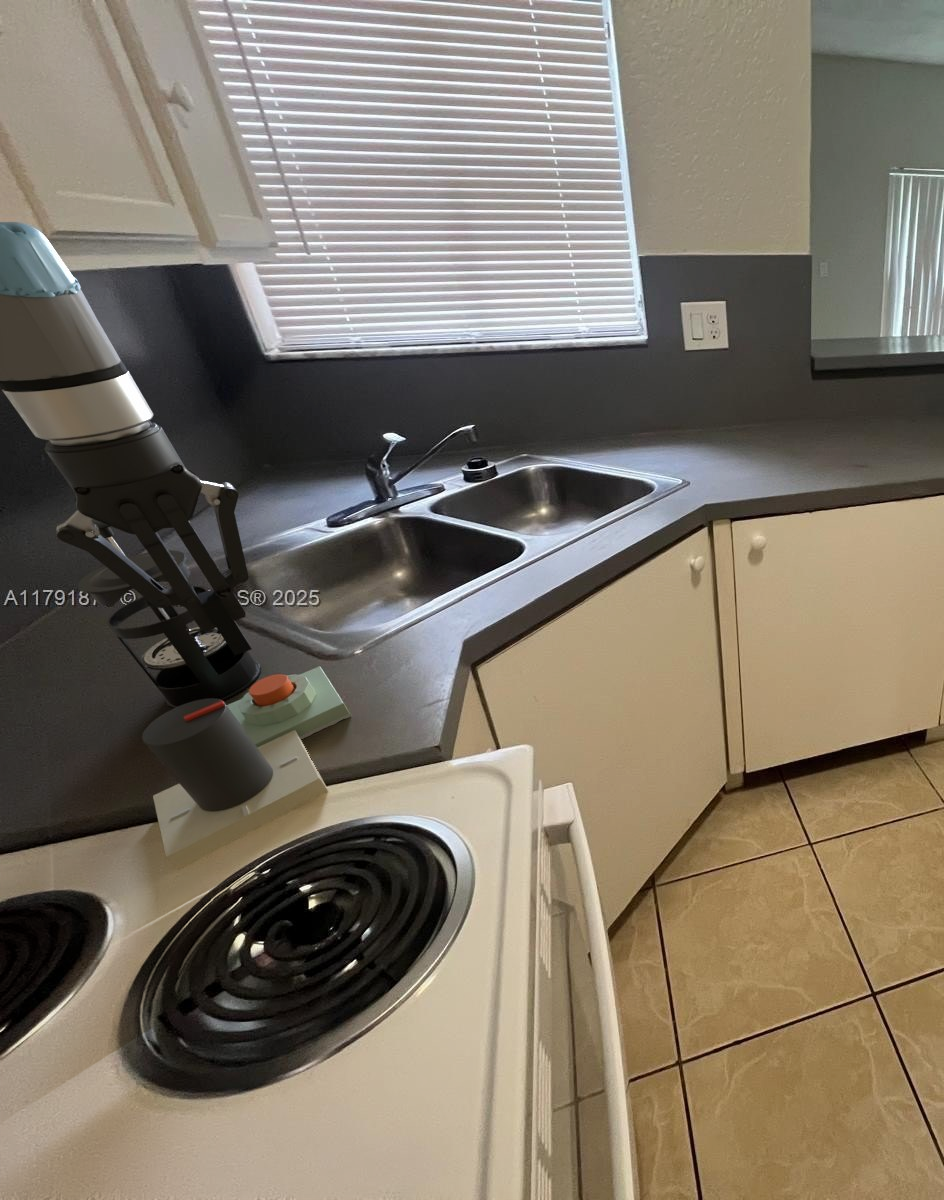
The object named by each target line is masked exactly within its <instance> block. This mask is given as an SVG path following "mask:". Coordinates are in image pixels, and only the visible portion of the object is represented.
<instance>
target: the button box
mask: <svg viewBox="0 0 944 1200" xmlns="http://www.w3.org/2000/svg"><path fill="white" fill-rule="evenodd" d="M286 676H287V677H288V679H289V680H290V682H291V683H292V685H293V687H294V689H295V690H294V693H293V694H291V695H290V696H288V697H287V698H286V699H284V700H282V701H280V702H278V703H275V704H273V705H268V706H263V707H261V706H258V705H257V704H256V702H255V701H254V699H253V698H252V696H251V695H250V693H249V691H247V692H246V693H245V694H244V695H243V697H242V698H240V699H238V700H236V701H234V702H231V703H228V704H226V705H227V706H228V708H229V709H230V711H231V712H232V713H233V715H234V716H235V717H236V719H237V720H238V722H239V723H240V724H241V726H242V727H243V729H244V730H245V731H246V733H247V734H248V735H249V737H250V738H251V740H252V741H253V742H254V744H255V745H256V747H259V746H261V745H264V744H266V743H268V742H270V741H272V740H274V739H277V738H279V737H281V736H283V735H285V734H287V733H290V732H292V731H294V730H295V731H296V732H297V734H298V735H299V737H301V736H303V735H305V734H306V733H309V732H310V731H313V730H314V729H317V728H319V727H321V726H323V725H325V724H328V723H330V722H332V721H334V720H337V719H338V718H341V717H343V716H346V715H348V714H351V712H350V711H349V710H348V708H347V706H346V704H345V703H344V701H343V699H342V698H341V696H340V695H339V693H338V691H337V690H336V688H335V686H334V685H333V684H332V682H331V681H330V679H329V678H328V676H327V674H326V673H325V671H324V670H323V669H322V667H321V666H320V665H319V666H317V667H315V668H312V669H310V670H307V671H304V672H303V673H300V674H287V675H286Z"/></svg>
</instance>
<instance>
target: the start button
mask: <svg viewBox="0 0 944 1200" xmlns="http://www.w3.org/2000/svg"><path fill="white" fill-rule="evenodd" d="M248 689H249V690H248V692H249V693H250V695H251V696H252V698H253V699H254V701H255V702H256V704H257V705H258V706H261V707H263V706H268V705H273V704H275V703H278V702H280V701H282V700H284V699H286V698H287V697H288V696H290V695H291V694H293V693H294V690H295V689H294V687H293V685H292V683H291V682H290V680H289V679H288V677H287V675H286V674H282V673H281V674H280V673H279V674H272V675H269V676H266V677H263V678H261V679H259V680H256V681H255V682H254V683H253V684H252V685H251V686H250V687H249V688H248Z"/></svg>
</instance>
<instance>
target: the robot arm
mask: <svg viewBox="0 0 944 1200" xmlns="http://www.w3.org/2000/svg"><path fill="white" fill-rule="evenodd" d="M0 390H1V392H2V393H3V394H4V395H5V396H6V398H7V399H8V401H9V403H10V404H11V405H12V406H13V408H14V409H15V410H16V412H17V413H18V415H19V416H20V418H21V419H22V420H23V421H24V423H25V424H26V425H27V427H28V428H29V430H30V431H31V433H32V434H33V435H34V437H35V438H38V439H40V440H46V441H47V442H46V443H45V447H44V451H45V453H46V454H47V455H48V456H49V457H50V459H51V461H52V462H53V464H54V465H55V466H56V468H57V469H58V471H59V472H60V473H61V475H62V477H64V479H65V481H66V482H67V483H68V485H69V486H70V488H71V489H72V491H73V493H74V496H75V497H74V504H75V508H76V509H77V510H76V511H75V512H74V513H73V514H72V515H71V516H70V517H69V518H68V519H67V520H63V521H60V522H58V523H57V524H56V526H55V527H56V537H57V539H58V540H59V541H61V542H62V543H65V544H68V545H70V546H72V547H75V548H78V549H80V550H83V551H85V552H87V553H88V554H90V555H91V556H92V557H94V558H95V559H96V560H97V561H98V562H100V563H101V564H102V565H103V566H106V567H107V568H109V569H110V570H111V571H112V572H114V573H115V574H116V575H117V576H118V577H120V578H121V579H122V580H123V581H125V582H126V583H127V584H128V585H130V586H131V587H132V588H133V589H132V590H134V591H136V592H137V593H138V594H140V595H141V597H145V598H146V599H147V600H148V601H150V602H151V603H152V604H153V605H154V606H156V607H158V608H167V607H169V606H174V607H175V606H181V607H183V608H185V609H186V611H188V612H189V613H190V615H191V616H192V618H193V619H194V622H195V624H196V625H197V627H198V626H199V628H200V629H202V630H203V631H208V630H211V629H213V628H217V629H218V631H219V632H220V634H221V635H222V637H223V638H224V640H225V641H226V643H227V644H228V646H229V647H230V649H231V650H232V652H233V654H234V655H238V654H241V653H243V652H246V651H248V652H249V651H252V650H253V647H252V646H251V644H250V643H249V640H248V639H247V637H246V635H245V634H244V632H243V631H242V629H241V628H240V626H239V624H238V623H237V622H236V621H239V620H241V619H244V618H246V611H245V608H244V607H243V605H242V604H241V602H240V600H239V599H238V596H236V594H235V593H234V589H235V588H236V587H237V586H238V585H239V584H243V583H246V582H247V581H248V580H249V577H250V576H249V572H248V568H247V567H248V566H247V563H246V559H245V554H244V550H243V545H242V540H241V537H240V531H239V527H238V523H237V518H236V515H235V511H236V507H237V504H238V499H239V492H238V491H237V489H236V488H235V487H234V486H233V484H232V483H230V482H225V481H224V482H220V483H216V482H210V481H206V480H201V479H200V477H199V476H198V475H197V474H196V473H194V472H193V471H191V470H190V469H189V468H187V467H186V466H185V464H184V463H183V461H182V459H181V457H180V456H179V454H178V453H177V450H176V449H175V447H174V445H173V444H172V443H171V441H170V439H169V438H168V436H167V434H166V432H165V431H164V429H163V427H162V426H161V425H159V424H157V423H155V422H152V421H151V420H152V419H153V417H154V415H155V414H154V412H153V411H152V409H151V407H150V405H149V404H148V402H147V400H146V399H145V397H144V395H143V394H142V392H141V390H140V389H139V387H138V385H137V384H136V381H135V380H134V378H133V376H132V374H131V373H130V371H129V370H128V369H127V367H126V365H125V363H124V362H123V361H122V360H121V358H120V356H119V354H118V353H117V350H116V349H115V348H114V346H113V344H112V342H111V340H110V338H109V337H108V335H107V333H106V332H105V330H104V328H103V327H102V324H101V323H100V322H99V320H98V318H97V316H96V315H95V312H94V311H93V308H92V307H91V304H89V301H88V299H87V298H86V295H85V294H84V292H83V290H82V286H81V284H80V282H79V281H78V279H77V278H76V277H75V276H73V274H72V273H71V271H70V270H69V268H68V266H67V265H66V264H65V263H64V261H63V260H62V258H61V256H60V255H59V254H58V252H57V251H56V250H55V248H54V247H53V245H52V244H51V242H50V241H49V239H48V238H47V237H46V236H45V234H44V233H42V232H41V231H40V230H39V229H37V228H36V227H34V226H32V225H30V224H27V223H23V222H18V221H0ZM201 494H203V495H204V496H205V500H206V502H207V503H208V504H209V505H210V506H213V509H214V514H215V519H216V523H217V528H218V531H219V535H220V540H221V544H222V548H223V551H224V557H225V560H226V566H227V570H226V571H224V572H222V571H221V570H220V568H219V566H218V565H217V563H216V562H215V560H214V558H213V556H212V555H211V554H210V552H209V551H208V548H207V547H206V546H205V544H204V542H203V541H202V539H201V538H200V536H199V534H198V533H197V531H196V529H195V528H194V527H193V524H192V523H191V521H190V520H191V519H192V518H193V516H194V513H195V511H196V506H197V505H198V501H199V498H200V495H201ZM93 519H94V520H97V521H99V522H102V523H104V524H107V525H109V526H111V527H112V528H114V529H117V530H119V531H122V532H124V533H127V534H130V535H135V536H136V538H137V539H138V541H139V543H141V545H142V547H143V548H144V549H145V550H146V553H149V555H150V556H151V558H152V559H153V560H154V562H155V563H156V565H157V566H158V568H159V569H160V571H161V572H162V574H163V575H164V577H165V578H166V580H167V581H168V582H167V583H168V585H169V586H170V588H172V589H169V588H165V587H163V586H162V585H161V584H160V583H159V582H156V581H155V580H154V579H153V578H151V577H150V576H149V575H148V574H147V573H145V572H144V571H143V570H142V569H141V568H139V567H138V566H137V565H136V564H135V563H133V562H132V561H131V560H130V559H129V558H127V556H126V554H125V553H124V552H123V553H124V554H125V555H124V554H123V553H121V552H120V551H119V550H118V549H117V548H115V547H114V546H113V545H112V544H111V542H110V541H109V540H108V539H107V538H103V537H102V536H101V534H100V532H99V528H98V526H96V525H95V524H94V523H93V522H92V520H93ZM163 529H174V531H175V532H176V534H177V535H178V537H179V538H180V540H181V541H182V543H183V545H184V546H185V548H186V549H187V551H188V552H189V554H190V555H191V557H192V558H193V560H194V562H195V563H196V565H197V566H198V568H199V569H200V571H201V573H202V575H203V576H204V577H205V579H206V580H207V583H209V585H210V587H211V589H210V590H208V591H206V592H203V593H200V594H196V593H195V591H194V589H193V587H192V586H193V585H192V584H191V583H190V581H189V580H188V579H187V578H186V577H185V575H184V574H183V572H182V570H181V569H180V567H179V566H178V564H177V563H176V561H175V560H174V558H173V557H172V555H171V554H170V552H169V551H168V550H169V549H168V548H167V546H166V544H165V543H164V541H163V540H162V538H161V537H160V535H159V534H158V532H159V531H161V530H163Z"/></svg>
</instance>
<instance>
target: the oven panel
mask: <svg viewBox="0 0 944 1200" xmlns="http://www.w3.org/2000/svg"><path fill="white" fill-rule="evenodd" d="M302 741H303V740H301V738H300V737H299V735H298V734H297V732H296V731H295V730H294V731H292V732H290V733H287V734H285V735H283V736H281V737H279V738H277V739H274V740H272V741H270V742H268V743H266V744H264V745H261V746H259V747H257V748H258V749H259V751H260V752H261V753H262V755H263V756H264V758H265V759H266V760H267V762H268V763H269V765H270V766H271V767H272V769H273V775H272V778H271V780H270V782H269V783H268V784H267V786H266V787H265V788H264V789H263V790H262V791H260V792H259V793H258V794H257V795H255V796H254V797H252V798H251V799H249V800H247V801H246V802H244V803H242V804H240V805H237V806H235V807H232V808H229V809H226V810H221V811H206V810H203V809H201V808H200V807H199V806H198V804H197V803H196V802H195V801H194V800H193V799H192V798H191V796H190V795H189V794H188V793H187V792H186V791H185V789H184V788H183V787H182V786H181V785H180V784H179V783H177V784H175V785H173V786H171V787H169V788H166V789H164V790H162V791H160V792H158V793H156V794H153V795H152V798H153V803H154V808H155V813H156V817H157V822H158V827H159V831H160V837H161V841H162V846H163V851H164V855H165V858H166V859H167V860H168V861H169V862H170V863H171V864H172V865H173V866H174V868H176V869H177V870H178V871H179V870H182V869H184V868H185V867H187V866H189V865H191V864H193V863H195V862H197V861H198V860H200V859H202V858H204V857H206V856H208V855H210V854H212V853H213V852H216V851H218V850H219V849H221V848H222V847H225V846H227V845H229V844H231V843H233V842H235V841H236V840H238V839H241V838H243V837H244V836H246V835H248V834H250V833H252V832H254V831H256V830H258V829H260V828H261V827H263V826H265V825H267V824H269V823H271V822H273V821H274V820H277V819H278V818H280V817H282V816H284V815H286V814H288V813H290V812H291V811H293V810H296V809H297V808H299V807H301V806H303V805H305V804H307V803H309V802H311V801H312V800H314V799H316V798H318V797H320V796H322V795H324V794H327V792H329V789H328V787H327V785H326V783H325V782H324V780H323V777H322V776H321V774H320V772H319V770H318V768H317V766H316V764H315V762H314V760H313V759H312V760H313V761H312V760H311V758H312V757H311V758H310V756H311V755H310V753H309V751H308V749H307V747H306V745H305V743H304V741H303V742H302ZM303 743H304V744H303ZM304 745H305V746H304ZM305 747H306V748H305ZM306 749H307V750H306ZM307 751H308V752H307ZM308 753H309V754H308ZM309 755H310V756H309ZM313 762H314V763H313ZM314 764H315V765H314ZM315 766H316V767H315ZM316 768H317V769H316ZM317 770H318V771H317Z"/></svg>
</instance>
